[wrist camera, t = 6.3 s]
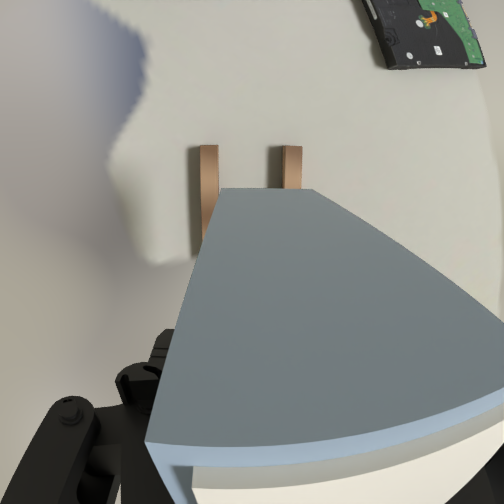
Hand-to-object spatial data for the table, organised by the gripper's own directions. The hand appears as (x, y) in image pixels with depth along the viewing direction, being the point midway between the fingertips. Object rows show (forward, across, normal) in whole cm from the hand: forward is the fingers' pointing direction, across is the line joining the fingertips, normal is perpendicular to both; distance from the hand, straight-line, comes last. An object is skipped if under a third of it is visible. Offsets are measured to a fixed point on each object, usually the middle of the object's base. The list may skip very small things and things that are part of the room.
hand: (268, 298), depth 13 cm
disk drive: (+18, +20, +23) cm, 35 cm away
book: (+2, 0, 0) cm, 2 cm away
